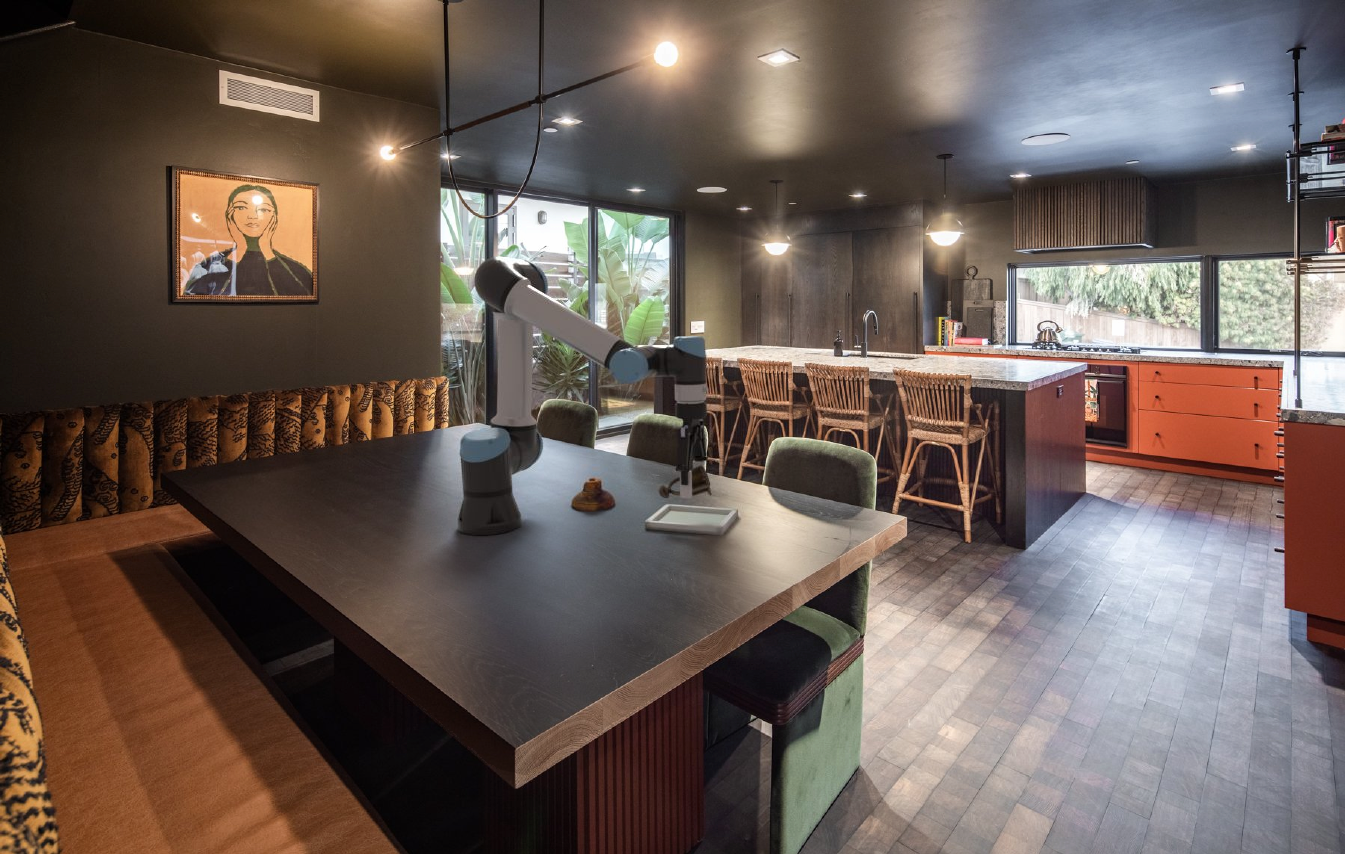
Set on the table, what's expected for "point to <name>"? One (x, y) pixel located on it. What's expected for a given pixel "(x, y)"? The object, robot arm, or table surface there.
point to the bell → (593, 497)
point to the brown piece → (698, 483)
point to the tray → (692, 519)
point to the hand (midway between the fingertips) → (692, 492)
